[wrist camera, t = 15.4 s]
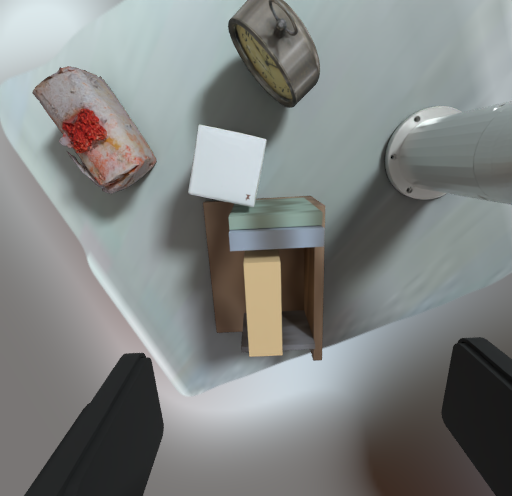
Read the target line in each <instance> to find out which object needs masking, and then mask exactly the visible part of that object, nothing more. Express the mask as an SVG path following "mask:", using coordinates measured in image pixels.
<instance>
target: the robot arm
mask: <svg viewBox="0 0 512 496" xmlns="http://www.w3.org/2000/svg"><path fill="white" fill-rule="evenodd" d="M414 118H415V122H414ZM391 155H392V158H390V157H391ZM385 167H386V172H387V175H388V178H389V180H390V182H391V183H392V185H393V186H394V187H395V188H396V189H397V190H398V191H399V192H400V193H402V194H404V195H406V196H408V197H411V198H415V199H421V200H426V199H434V198H438V197H441V196H443V195H446V194H454V195H459V196H465V197H471V198H476V199H482V200H487V201H493V202H499V203H505V204H511V205H512V101H510V102H506V103H502V104H497V105H493V106H488V107H484V108H479V109H475V110H470V111H466V112H461V111H459V110H457V109H455V108H452V107H448V106H435V107H429V108H426V109H422V110H420V111H418V112H416V113H414V114H412V115H411V116H409V117H408V118H406V119H405V120H404V121H403V122H402V123H401V124H400V125H399V126H398V127H397V129H396V130H395V132H394V133H393V135H392V137H391V139H390V141H389V143H388V146H387V150H386V156H385ZM407 188H408V190H407ZM406 190H407V191H406ZM442 418H443V421H444V423H445V425H446V427H447V428H448V429H449V431H450V432H451V433H452V435H453V436H454V438H455V439H456V441H457V442H458V443H459V445H460V446H461V447H462V449H463V450H464V452H465V453H466V454H467V456H468V457H469V459H470V460H471V462H472V463H473V464H474V466H475V467H476V469H477V470H478V471H479V472H480V474H481V475H482V477H483V478H484V480H485V481H486V483H487V484H488V485H489V487H490V488H491V490H492V491H493V492H494V494H495V495H496V496H512V359H511V358H509V357H508V356H507V355H506V354H504V353H503V352H502V351H500V350H499V349H498V348H497V347H495V346H494V345H493V344H492V343H490V342H489V341H488V340H486V339H484V338H481V337H479V338H462V339H460V340H459V341H458V343H457V344H455V345H454V346H453V351H452V357H451V362H450V368H449V373H448V379H447V384H446V390H445V395H444V401H443V406H442ZM163 426H164V424H163V418H162V413H161V408H160V403H159V398H158V392H157V387H156V383H155V377H154V372H153V366H152V362H151V359H150V358H146V356H145V354H144V353H129V354H124V355H123V356H122V357H121V358H120V360H119V361H118V363H117V364H116V365H115V367H114V368H113V370H112V371H111V373H110V374H109V376H108V377H107V379H106V380H105V382H104V383H103V385H102V386H101V388H100V389H99V391H98V392H97V394H96V395H95V397H94V398H93V400H92V401H91V403H89V404H87V406H86V407H85V408H84V409H83V411H82V412H81V414H80V415H79V416H78V418H77V419H76V421H75V422H74V424H73V425H72V427H71V428H70V430H69V431H68V432H67V434H66V435H65V437H64V438H63V440H62V441H61V443H60V444H59V446H58V447H57V449H56V450H55V452H54V453H53V454H52V456H51V457H50V459H49V460H48V462H47V463H46V465H45V466H44V468H43V469H42V470H41V472H40V474H39V475H38V476H37V478H36V479H35V481H34V482H33V484H32V485H31V487H30V488H29V489H28V491H27V492H26V494H25V495H24V496H143V493H144V490H145V487H146V484H147V481H148V478H149V475H150V472H151V469H152V466H153V463H154V460H155V457H156V454H157V451H158V448H159V445H160V442H161V439H162V436H163V428H164V427H163Z"/></svg>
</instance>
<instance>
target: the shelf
mask: <svg viewBox="0 0 512 496" xmlns="http://www.w3.org/2000/svg"><path fill="white" fill-rule="evenodd" d="M203 207H204V217H205V226H206V235H207V245H208V254H209V264H210V273H211V282H212V292H213V301H214V311H215V320H216V329H217V333H222V332H242V345H241V349H242V352H249V343H248V327H247V311H246V295H245V279H244V254H245V250H265V249H277V250H278V254H279V258H280V262H281V308H282V350H302V349H310V350H311V353H312V357H313V360H322V334H323V285H324V237H325V205H323V204H322V203H320V202H319V201H317V200H316V199H314V198H313V197H311V196H299V197H280V198H261V199H256V200H255V205H254V207H249V206H245V205H240V204H235V203H230V202H224V201H205V202H203Z"/></svg>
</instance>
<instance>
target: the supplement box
mask: <svg viewBox="0 0 512 496" xmlns="http://www.w3.org/2000/svg"><path fill="white" fill-rule="evenodd" d="M265 147H266V139H263V138H259V137H255V136H251V135H247V134H243V133H238V132H234V131H229V130H224V129H220V128H215V127H210V126H204V125H198V133H197V140H196V146H195V153H194V159H193V165H192V171H191V177H190V183H189V190H188V193H189V194H191V195H196V196H201V197H206V198H211V199H215V200H220V201H224V202H230V203H235V204H240V205H245V206H249V207H254V205H255V200H256V196H257V191H258V187H259V182H260V176H261V171H262V166H263V160H264V153H265Z"/></svg>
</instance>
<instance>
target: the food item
mask: <svg viewBox="0 0 512 496" xmlns="http://www.w3.org/2000/svg"><path fill="white" fill-rule="evenodd" d="M33 94H34V95H35V97H36V98H37V99H38V100H39V101H40V103H41V105H42V106H43V107H44V109H45V110H46V112H47V113H48V115H49V116H50V117H51V119H52V120H53V122H54V123H55V124H56V125H57V127H58V128H59V129H60V131H61V132H62V134H63V138H60V140H59V143H61V144H62V145H63V146H68V147H69V148H72V147H73V149H74V150H75V152H76V153H77V154H78V156H79V157H80V158H81V162H82V165H81V164H79V163H78V161H77V159H76V158H75V157H74V156H72V155H71V154H70V153H69V152H68V154H69V155H70V157H71V158H72V159H73V161H74V162H75V163H76V165H77V166H78V167H79V168H80V170H81V171H82V172H83V173H84V174H85V175H86V176H88V177H89V178H90V179H91V180H92V181H93V182H94V183H95V184H96V185H98V186H99V187H101V188H102V191H104V192H106V193H109V194H110V193H111V194H112V193H114V192H116V191H120V190H123V189H125V188H127V187H129V186H130V185H132V184H134V183H135V182H136V181H138V180H139V179H140V178H141V177H143V176H144V175H145V174H146V173H147V172H148V171H149V170H150V169H152V167H153V166H154V165H155V163H156V162H157V161H156V158H155V156H154V154H153V152H152V150H151V149H150V147H149V145H148V144H147V142H146V140H145V139H144V137H143V136H142V134H141V133H140V131H139V130H138V128H137V127H136V125H135V124H134V122H133V121H132V120H131V119H130V117H129V115H128V114H127V112H126V111H125V109H124V108H123V106H122V105H121V104H120V102H119V101H118V99H117V98H116V96H115V95H114V93H113V92H112V90H111V89H110V88H109V86H108V85H107V84H106V82H105V81H104V80H103V79H102V77H97V75H94V74H92V73H89V72H87V71H85V70H81V69H78V68H74V67H69V66H68V67H64V68H61V67H60V69H59V71H58V72H57V73H55V74H53V75H51V76H49V77H47V78H46V79H45V80H43V81H42V82H41V83H40V84H38V85H37V86H36V87H35V89H34V90H33ZM60 141H61V142H60ZM69 144H70V145H69Z"/></svg>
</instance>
